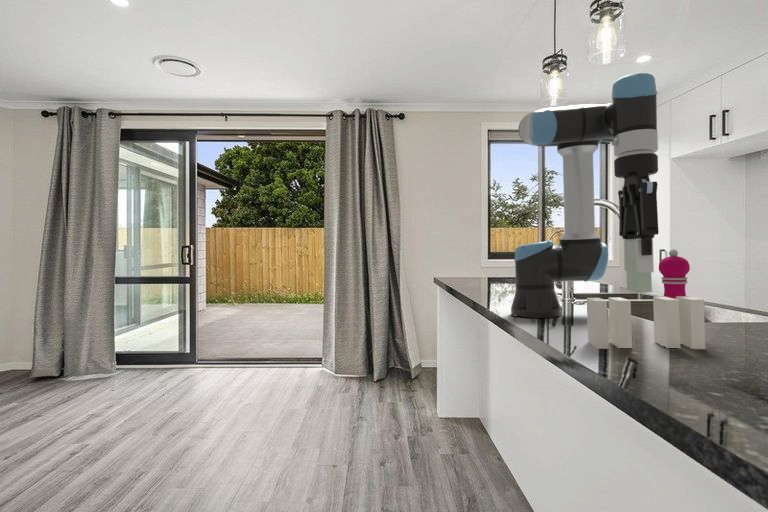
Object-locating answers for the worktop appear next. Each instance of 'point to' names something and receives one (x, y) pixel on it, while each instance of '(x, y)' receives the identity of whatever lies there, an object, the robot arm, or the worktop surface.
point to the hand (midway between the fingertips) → (638, 271)
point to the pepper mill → (674, 274)
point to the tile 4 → (666, 322)
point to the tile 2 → (620, 322)
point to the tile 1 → (597, 323)
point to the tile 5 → (692, 322)
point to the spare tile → (634, 279)
